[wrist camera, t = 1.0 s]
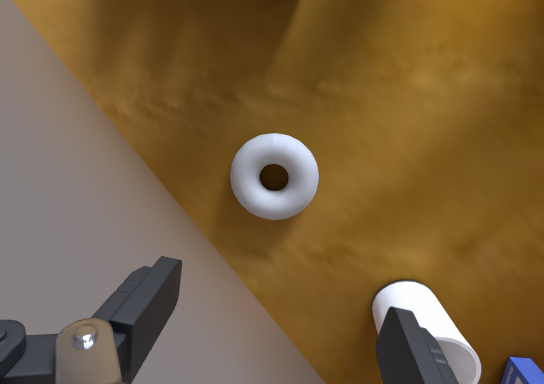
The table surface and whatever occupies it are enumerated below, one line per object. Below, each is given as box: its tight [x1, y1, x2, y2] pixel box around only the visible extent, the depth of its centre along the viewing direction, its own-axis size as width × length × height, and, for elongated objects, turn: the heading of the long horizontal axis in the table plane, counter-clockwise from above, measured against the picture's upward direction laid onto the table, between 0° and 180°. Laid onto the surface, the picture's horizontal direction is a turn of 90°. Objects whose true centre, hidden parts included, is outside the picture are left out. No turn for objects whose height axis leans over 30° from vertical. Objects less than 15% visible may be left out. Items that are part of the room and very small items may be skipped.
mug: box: [372, 280, 481, 384], centre depth 37 cm, size 11×9×10 cm
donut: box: [230, 133, 319, 220], centre depth 36 cm, size 10×4×10 cm
